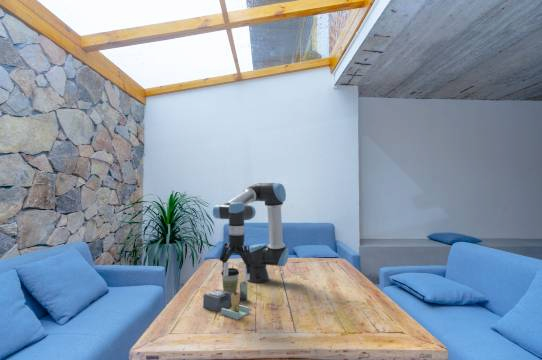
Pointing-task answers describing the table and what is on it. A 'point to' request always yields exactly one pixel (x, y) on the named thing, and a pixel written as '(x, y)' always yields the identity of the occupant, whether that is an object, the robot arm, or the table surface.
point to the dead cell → (243, 291)
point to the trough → (242, 312)
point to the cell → (235, 302)
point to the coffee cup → (230, 280)
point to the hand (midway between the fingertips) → (236, 277)
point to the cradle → (217, 301)
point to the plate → (218, 293)
